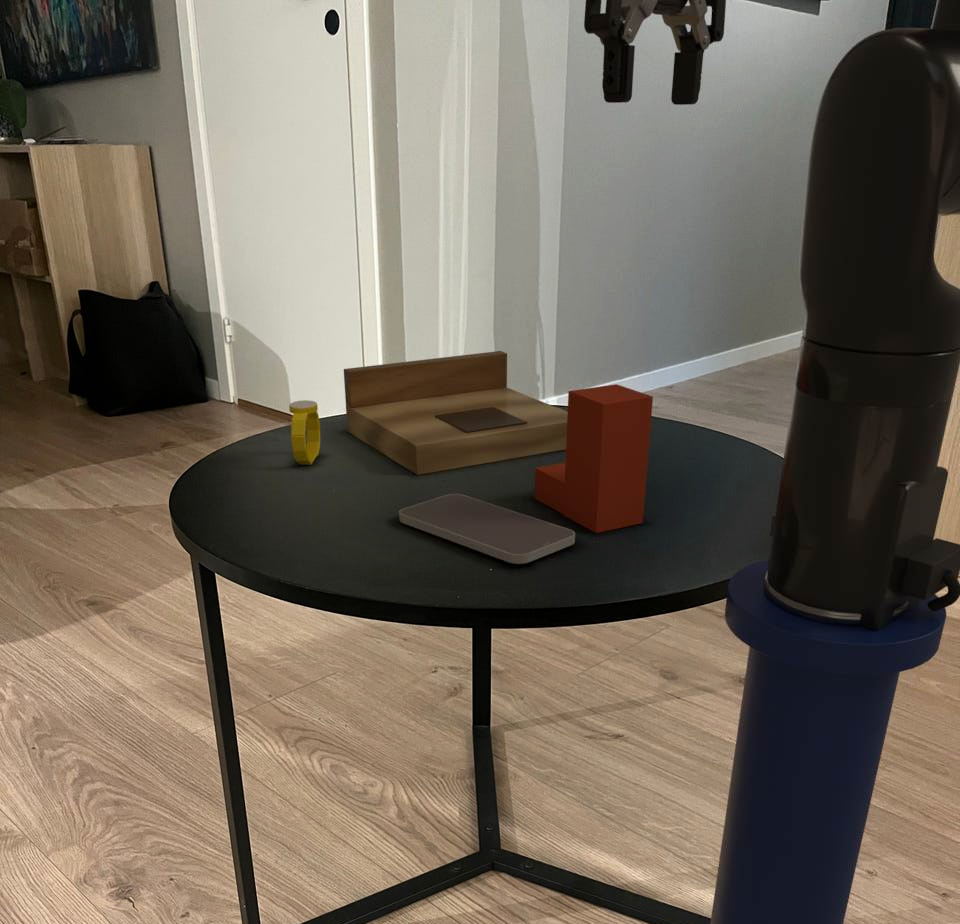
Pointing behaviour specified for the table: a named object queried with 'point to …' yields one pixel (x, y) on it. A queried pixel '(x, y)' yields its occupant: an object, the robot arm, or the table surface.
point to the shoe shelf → (449, 413)
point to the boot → (601, 459)
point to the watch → (301, 418)
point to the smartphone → (488, 528)
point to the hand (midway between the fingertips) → (652, 103)
